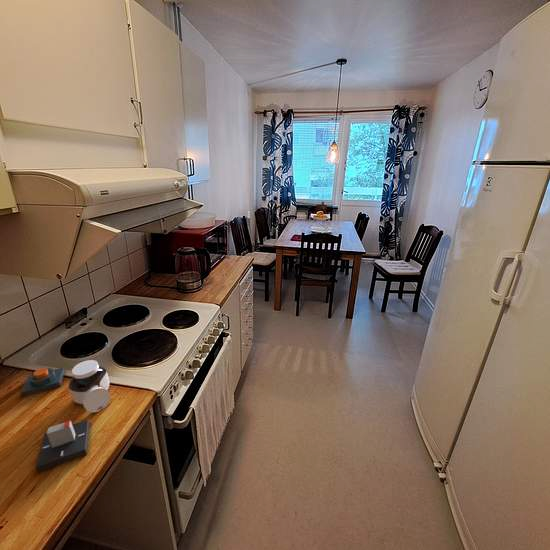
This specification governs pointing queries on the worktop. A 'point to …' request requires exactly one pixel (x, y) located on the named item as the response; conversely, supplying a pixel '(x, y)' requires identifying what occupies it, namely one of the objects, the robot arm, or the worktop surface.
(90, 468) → the worktop surface
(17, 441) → the worktop surface
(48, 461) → the fryer panel
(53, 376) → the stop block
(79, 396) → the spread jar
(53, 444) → the knob
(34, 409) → the worktop surface
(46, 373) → the stop button
